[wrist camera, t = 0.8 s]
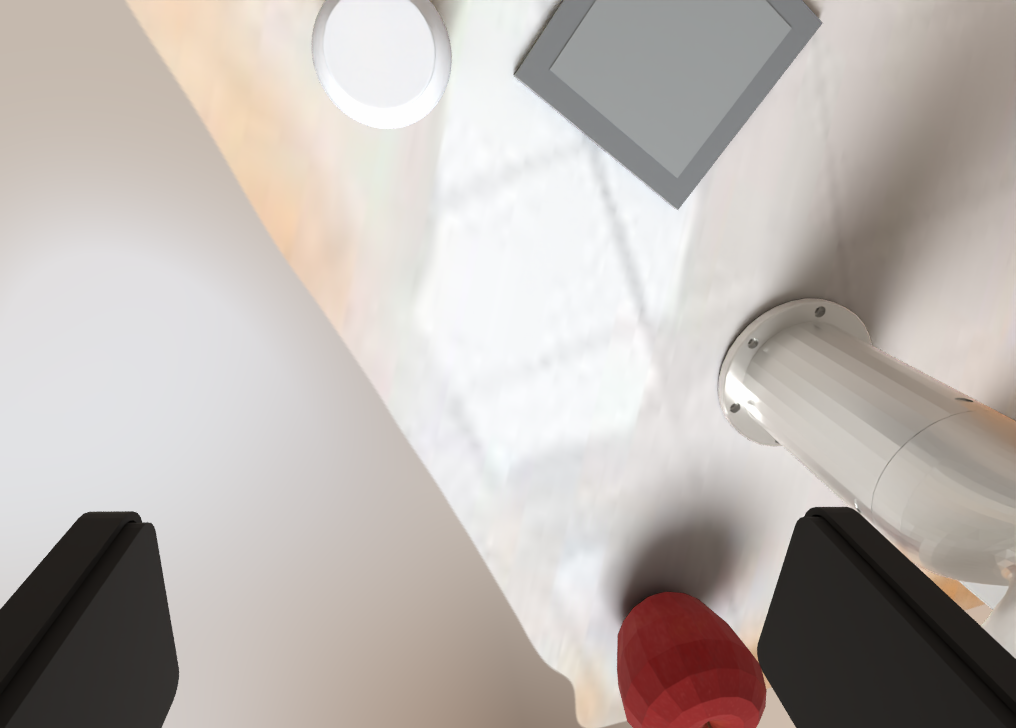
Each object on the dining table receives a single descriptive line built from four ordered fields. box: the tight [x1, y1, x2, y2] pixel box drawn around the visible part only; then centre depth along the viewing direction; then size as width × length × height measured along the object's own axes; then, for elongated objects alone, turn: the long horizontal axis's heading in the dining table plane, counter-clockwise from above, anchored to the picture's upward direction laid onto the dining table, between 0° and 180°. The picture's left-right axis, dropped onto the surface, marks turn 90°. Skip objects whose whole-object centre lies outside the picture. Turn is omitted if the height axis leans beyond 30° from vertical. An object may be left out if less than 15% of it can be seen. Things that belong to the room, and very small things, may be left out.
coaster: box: [514, 0, 822, 210], centre depth 37 cm, size 14×14×1 cm
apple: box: [617, 592, 766, 728], centre depth 51 cm, size 12×12×13 cm
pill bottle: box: [312, 0, 452, 129], centre depth 30 cm, size 6×6×12 cm
